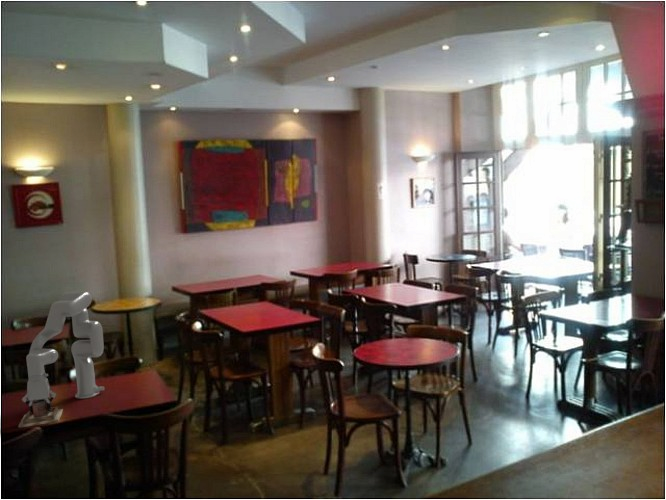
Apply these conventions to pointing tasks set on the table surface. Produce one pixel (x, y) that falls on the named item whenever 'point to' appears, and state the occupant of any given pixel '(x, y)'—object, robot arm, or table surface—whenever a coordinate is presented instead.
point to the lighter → (40, 408)
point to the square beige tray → (41, 418)
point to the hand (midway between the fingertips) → (40, 411)
